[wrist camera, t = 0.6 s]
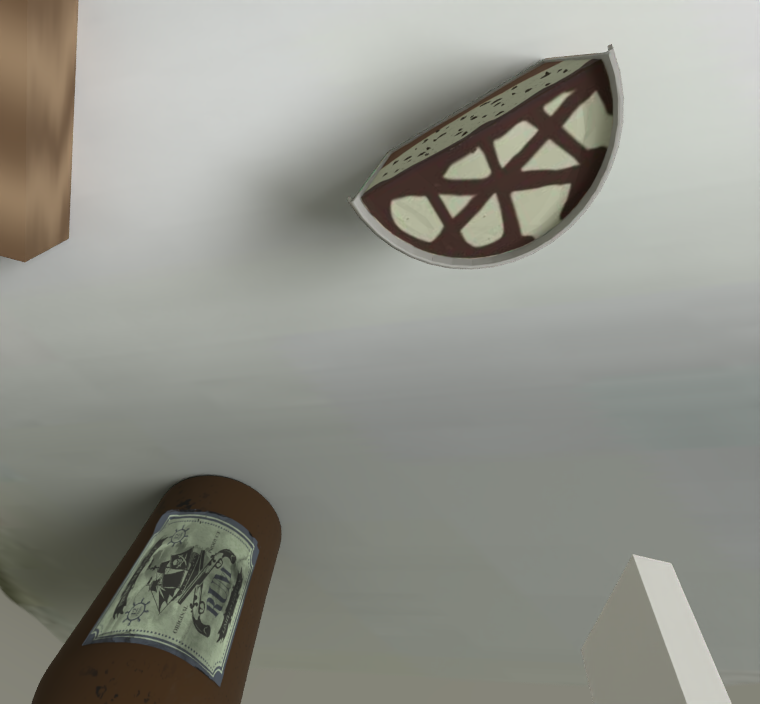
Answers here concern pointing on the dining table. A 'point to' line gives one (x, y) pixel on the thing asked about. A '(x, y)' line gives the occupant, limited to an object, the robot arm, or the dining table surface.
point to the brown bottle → (176, 605)
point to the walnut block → (36, 123)
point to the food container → (501, 167)
